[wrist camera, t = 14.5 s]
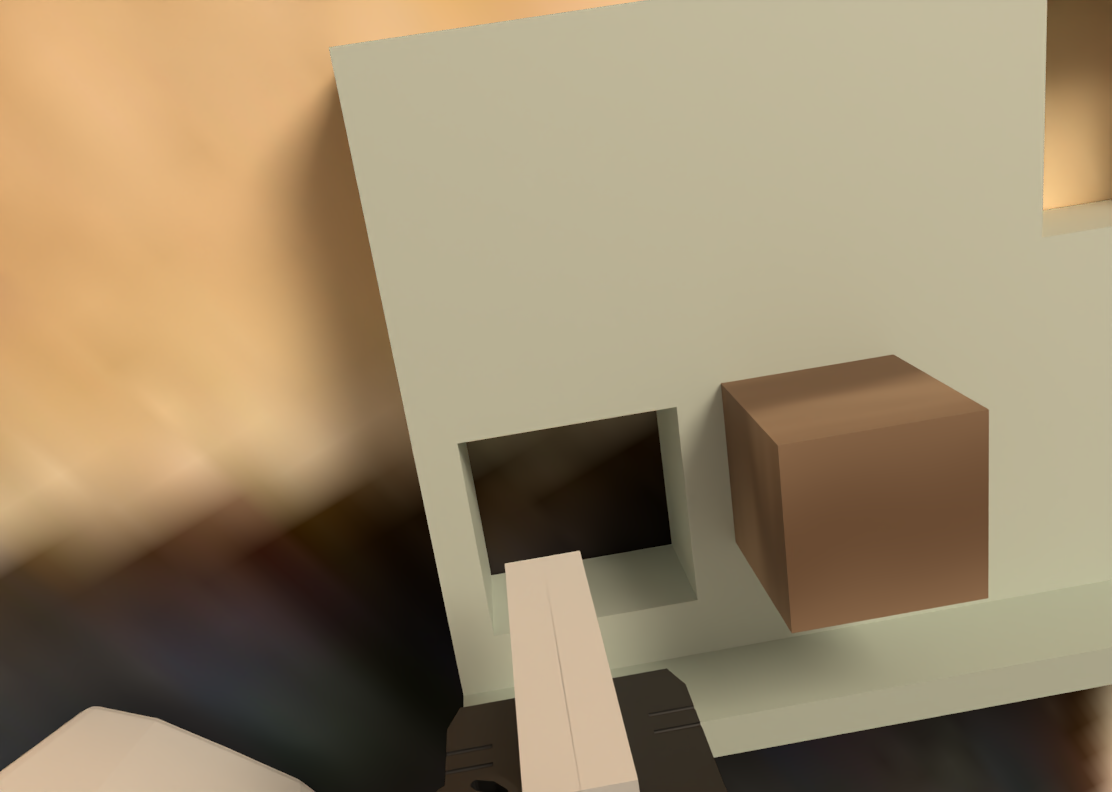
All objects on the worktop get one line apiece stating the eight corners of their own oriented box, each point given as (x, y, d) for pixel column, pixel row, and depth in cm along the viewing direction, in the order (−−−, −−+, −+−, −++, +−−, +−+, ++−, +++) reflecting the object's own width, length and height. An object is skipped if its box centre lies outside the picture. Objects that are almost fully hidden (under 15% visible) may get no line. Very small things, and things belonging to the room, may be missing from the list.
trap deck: (348, 56, 21) (306, 37, 15) (1479, -113, 22) (1799, -184, 16) (470, 660, 25) (470, 802, 20) (1386, 497, 27) (1610, 592, 21)
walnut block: (721, 383, 20) (777, 445, 17) (893, 354, 21) (988, 410, 17) (735, 542, 22) (792, 633, 18) (898, 513, 22) (988, 598, 18)
